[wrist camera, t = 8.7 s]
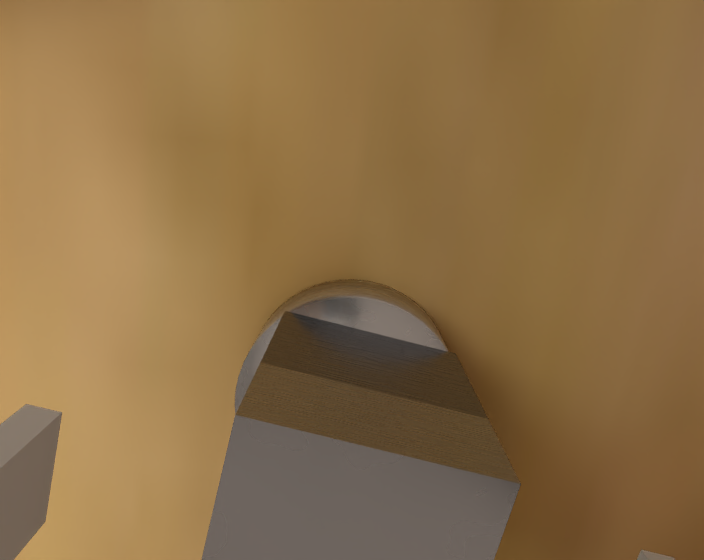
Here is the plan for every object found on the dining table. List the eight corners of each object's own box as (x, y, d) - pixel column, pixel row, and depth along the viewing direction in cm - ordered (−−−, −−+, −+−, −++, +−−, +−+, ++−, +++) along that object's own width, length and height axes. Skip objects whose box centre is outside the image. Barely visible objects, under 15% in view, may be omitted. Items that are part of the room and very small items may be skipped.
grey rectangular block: (284, 310, 19) (235, 414, 11) (455, 353, 20) (521, 484, 12) (247, 466, 21) (178, 657, 13) (408, 505, 21) (438, 715, 13)
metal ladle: (238, 288, 22) (194, 336, 16) (443, 270, 22) (474, 311, 16) (296, 709, 26) (279, 866, 20) (470, 697, 26) (502, 853, 20)
